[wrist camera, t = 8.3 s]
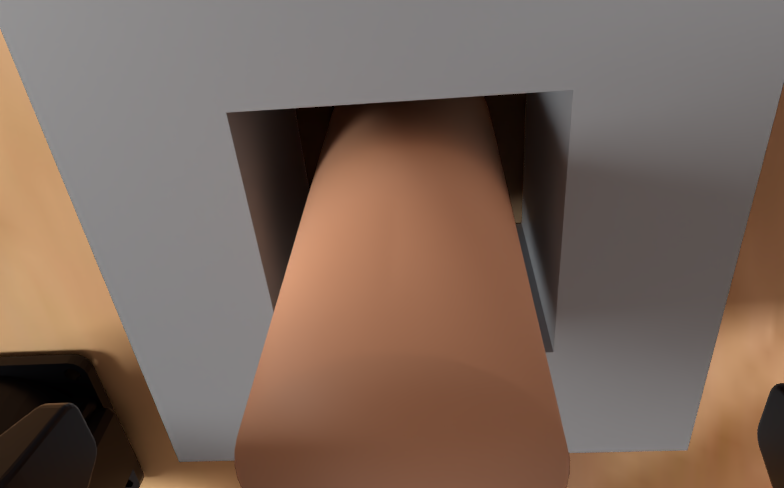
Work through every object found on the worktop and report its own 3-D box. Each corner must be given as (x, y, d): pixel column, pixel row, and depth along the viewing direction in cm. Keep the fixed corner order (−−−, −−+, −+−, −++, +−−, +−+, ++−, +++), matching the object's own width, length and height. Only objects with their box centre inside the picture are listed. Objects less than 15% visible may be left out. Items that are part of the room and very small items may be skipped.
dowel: (341, 206, 17) (268, 569, 9) (320, 60, 15) (197, 360, 7) (491, 198, 17) (559, 565, 9) (491, 47, 15) (583, 347, 6)
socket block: (229, 325, 20) (179, 461, 16) (100, -119, 13) (-49, -89, 9) (628, 310, 19) (687, 450, 15) (704, -176, 12) (850, -172, 8)
